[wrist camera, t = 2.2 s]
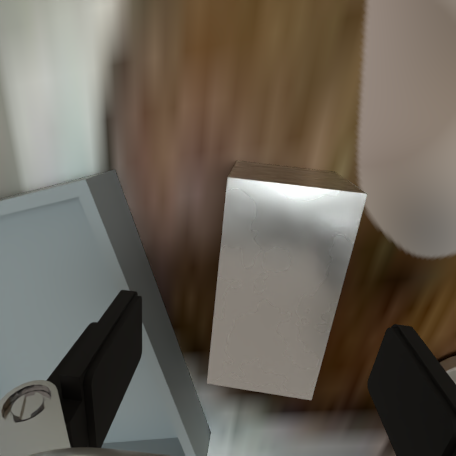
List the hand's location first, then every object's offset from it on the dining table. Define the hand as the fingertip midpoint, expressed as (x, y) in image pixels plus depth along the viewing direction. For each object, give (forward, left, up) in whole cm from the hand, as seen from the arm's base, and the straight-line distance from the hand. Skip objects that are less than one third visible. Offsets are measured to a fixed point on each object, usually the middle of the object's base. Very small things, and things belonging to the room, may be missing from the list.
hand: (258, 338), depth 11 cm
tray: (-5, +18, -9) cm, 21 cm away
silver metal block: (-1, -1, -10) cm, 10 cm away
